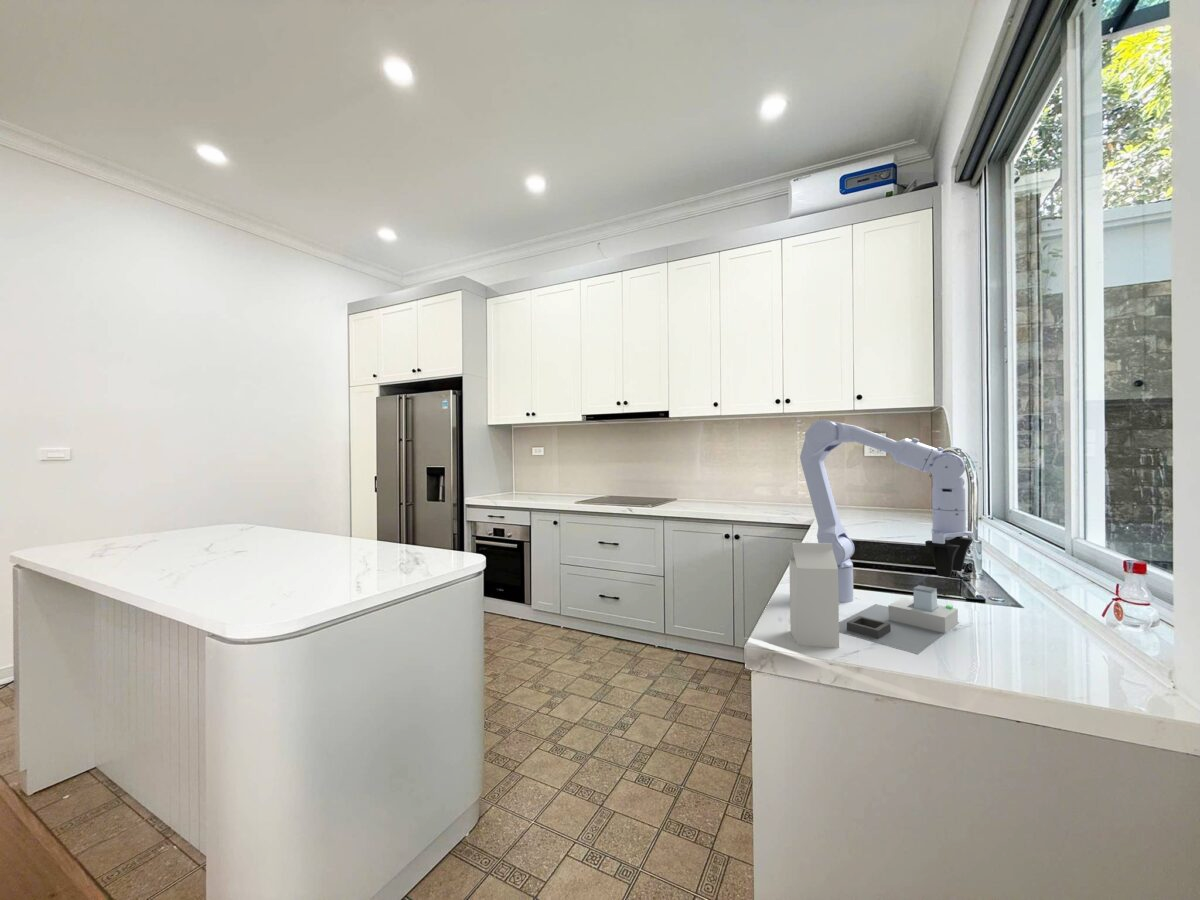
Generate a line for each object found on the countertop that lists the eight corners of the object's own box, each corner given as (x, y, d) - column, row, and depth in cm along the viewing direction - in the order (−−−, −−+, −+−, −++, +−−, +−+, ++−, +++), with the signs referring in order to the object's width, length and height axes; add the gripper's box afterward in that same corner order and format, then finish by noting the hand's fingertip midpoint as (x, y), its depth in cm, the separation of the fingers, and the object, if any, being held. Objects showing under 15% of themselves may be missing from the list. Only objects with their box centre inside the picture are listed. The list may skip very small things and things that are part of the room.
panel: (826, 632, 95) (825, 611, 95) (875, 607, 110) (875, 588, 110) (917, 658, 82) (917, 634, 82) (959, 626, 97) (959, 605, 97)
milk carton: (839, 652, 86) (837, 547, 86) (797, 649, 87) (796, 546, 87) (828, 637, 92) (827, 540, 93) (790, 634, 94) (788, 539, 94)
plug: (914, 621, 98) (913, 588, 98) (919, 618, 100) (918, 585, 100) (932, 626, 96) (931, 591, 96) (937, 622, 98) (936, 588, 98)
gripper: (961, 514, 93) (962, 583, 93) (981, 508, 102) (982, 571, 102) (920, 511, 98) (921, 576, 98) (942, 505, 107) (943, 565, 107)
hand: (949, 573), depth 100 cm, fingers open, 7 cm apart
